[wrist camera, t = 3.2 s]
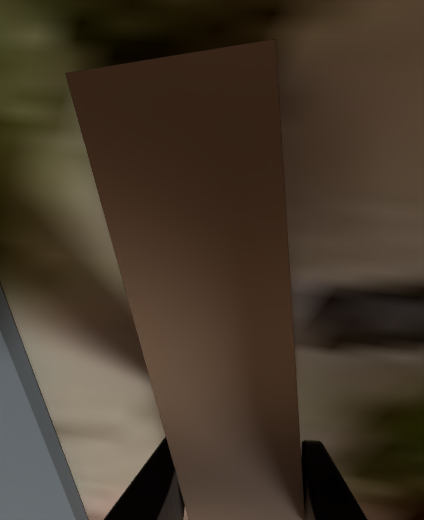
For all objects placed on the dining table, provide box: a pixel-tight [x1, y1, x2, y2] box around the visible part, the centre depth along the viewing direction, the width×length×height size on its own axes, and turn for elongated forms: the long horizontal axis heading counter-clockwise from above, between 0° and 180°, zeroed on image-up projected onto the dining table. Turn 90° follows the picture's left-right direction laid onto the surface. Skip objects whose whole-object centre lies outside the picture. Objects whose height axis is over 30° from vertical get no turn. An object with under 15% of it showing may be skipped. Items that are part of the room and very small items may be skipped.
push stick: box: [65, 39, 305, 520], centre depth 9 cm, size 16×2×2 cm, turn 8°
